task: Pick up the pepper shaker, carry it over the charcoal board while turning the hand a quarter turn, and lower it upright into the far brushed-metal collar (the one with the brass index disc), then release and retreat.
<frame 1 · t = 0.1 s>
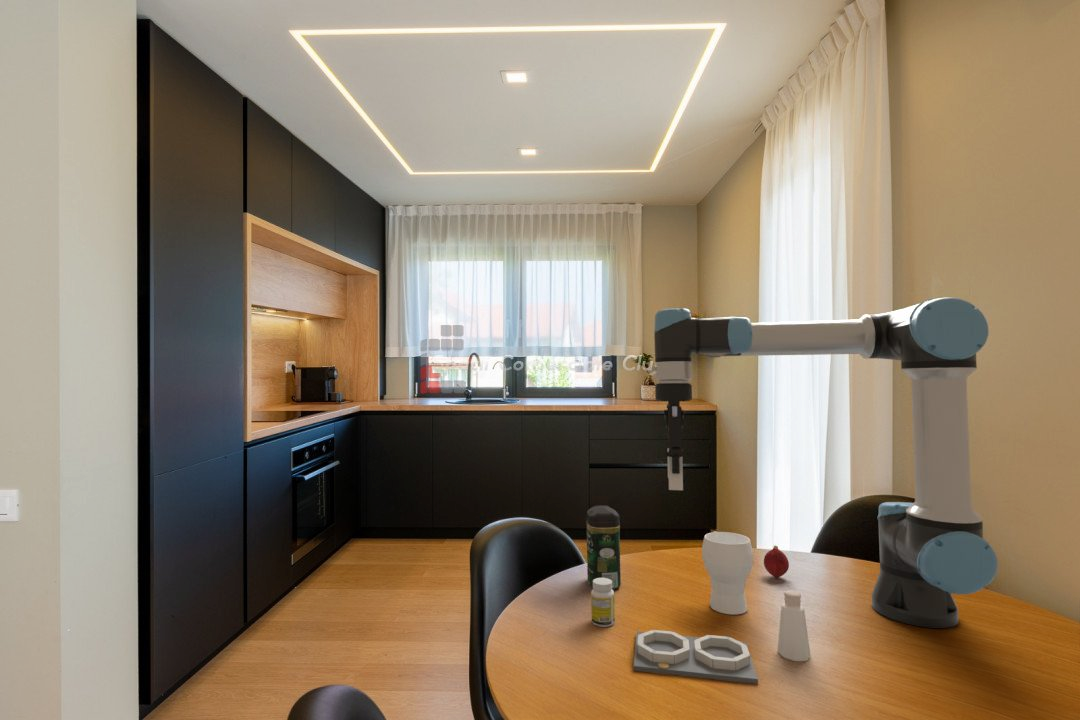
hand: (674, 483, 113), 28 cm above the table, fingers open, 13 cm apart
coffee jar: (603, 585, 131), on the table
onion: (776, 578, 135), on the table
cup: (728, 608, 118), on the table
pepper shaker: (793, 655, 97), on the table
supplement bottle: (603, 623, 111), on the table
collar board: (692, 657, 96), on the table
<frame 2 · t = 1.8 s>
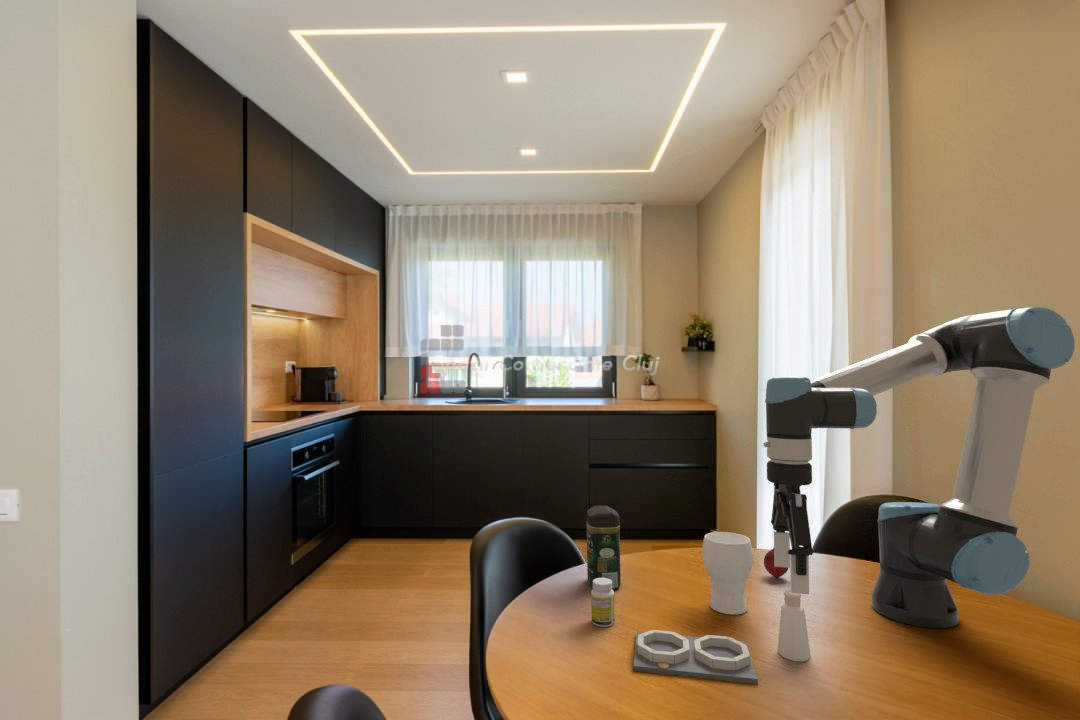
hand: (790, 579, 98), 13 cm above the table, fingers open, 13 cm apart
nothing on the table moved.
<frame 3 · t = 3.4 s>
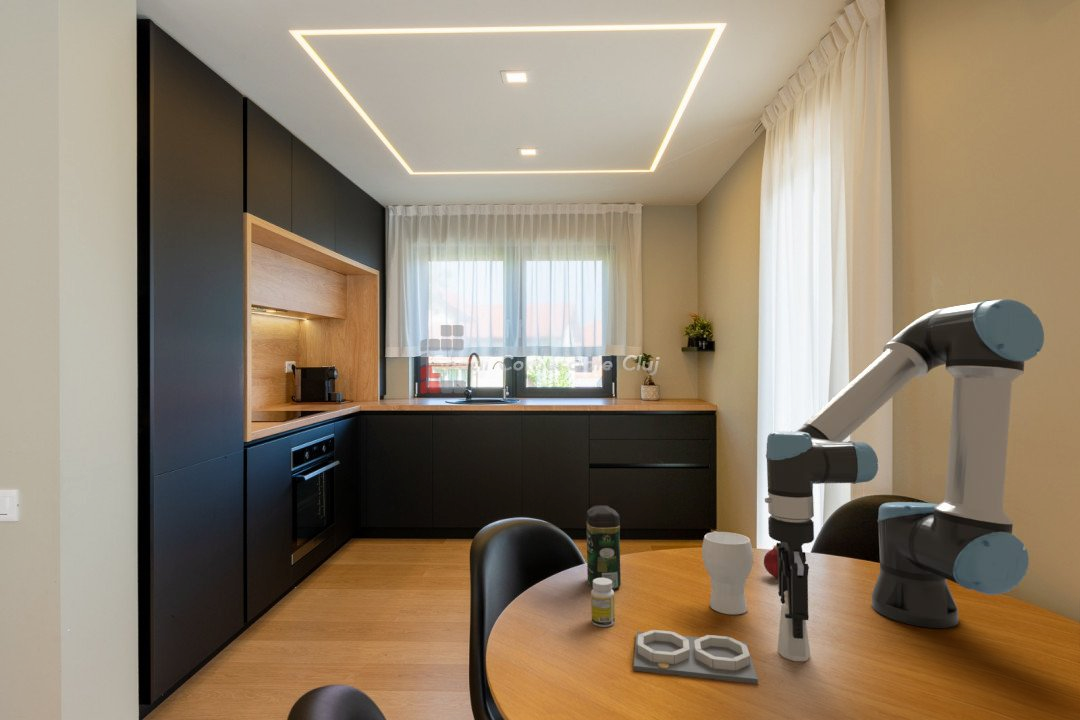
hand: (793, 648, 97), 1 cm above the table, fingers closed on pepper shaker, 4 cm apart
pepper shaker: (793, 655, 97), on the table, touching gripper
everything else where it was.
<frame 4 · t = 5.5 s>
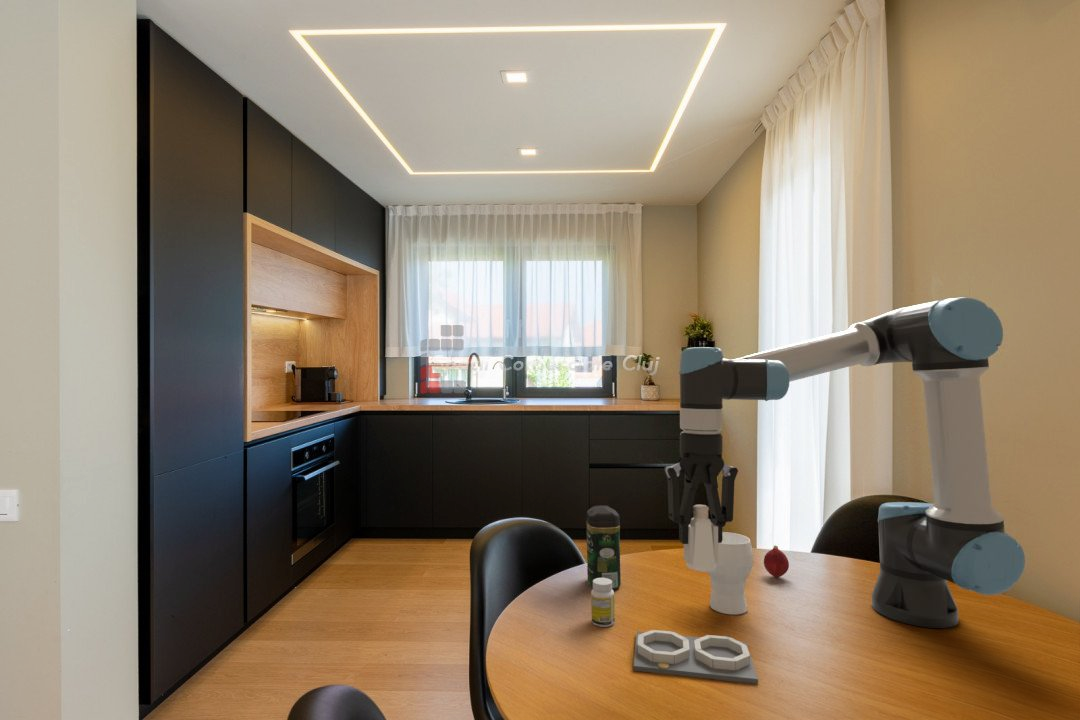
hand: (700, 560, 98), 17 cm above the table, fingers closed on pepper shaker, 4 cm apart
pepper shaker: (701, 568, 98), point 15 cm above the table, touching gripper
everything else where it was.
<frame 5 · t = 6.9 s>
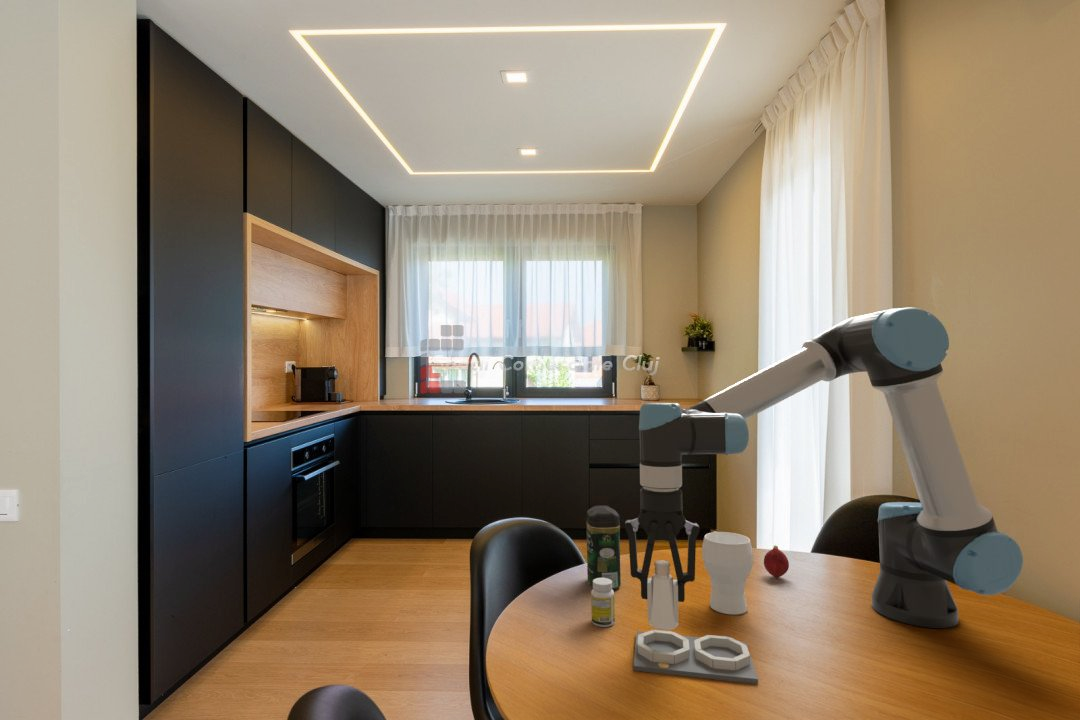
hand: (663, 617, 98), 7 cm above the table, fingers closed on pepper shaker, 4 cm apart
pepper shaker: (663, 624, 98), point 5 cm above the table, touching gripper
everything else where it was.
when the fingers open (3 cm above the table, at t = 7.7 s): pepper shaker drops 2 cm, resting on collar board.
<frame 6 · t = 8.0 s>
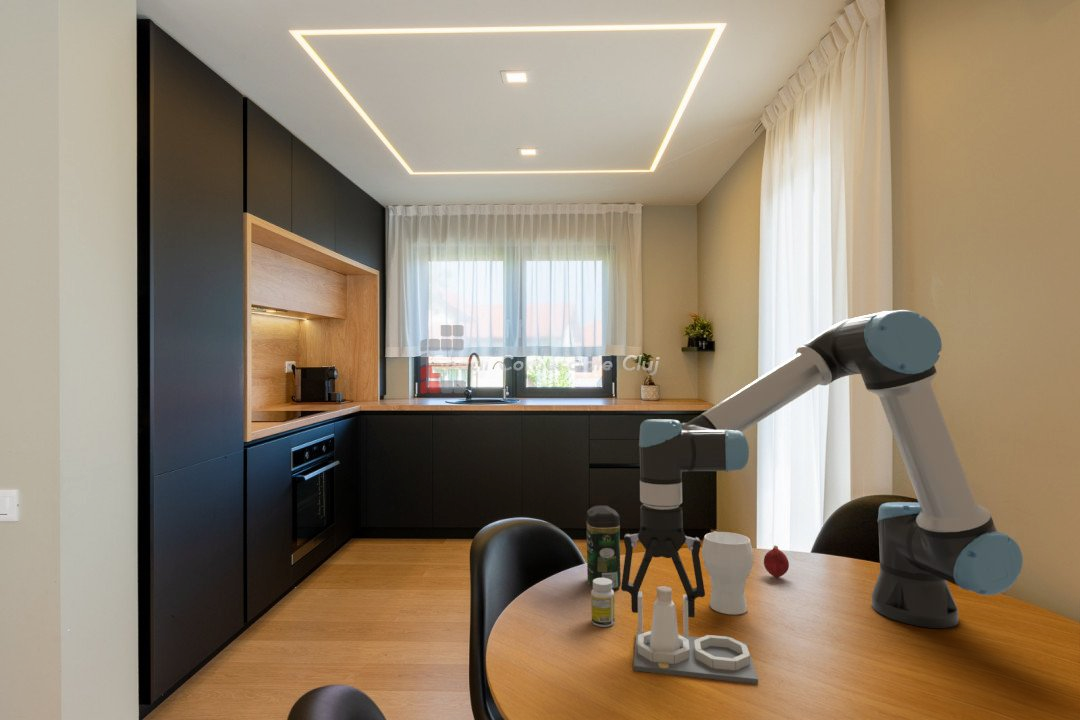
hand: (663, 632, 97), 4 cm above the table, fingers open, 7 cm apart
pepper shaker: (664, 651, 97), point 1 cm above the table, touching collar board
everything else where it was.
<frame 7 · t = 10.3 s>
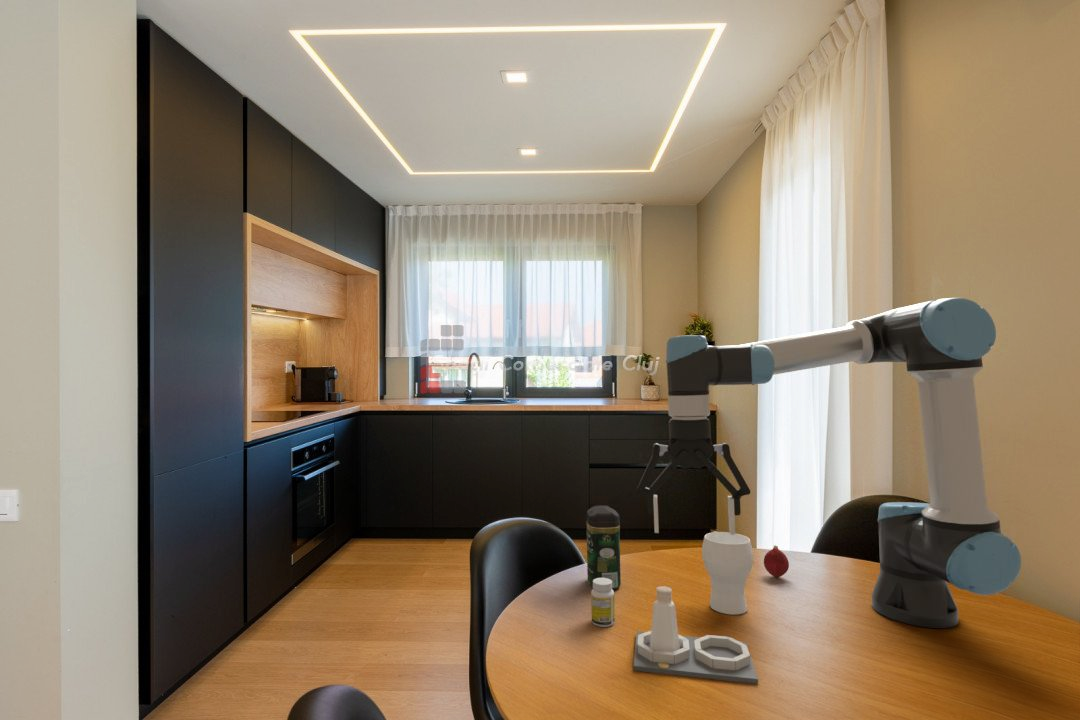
hand: (693, 532, 101), 21 cm above the table, fingers open, 13 cm apart
nothing on the table moved.
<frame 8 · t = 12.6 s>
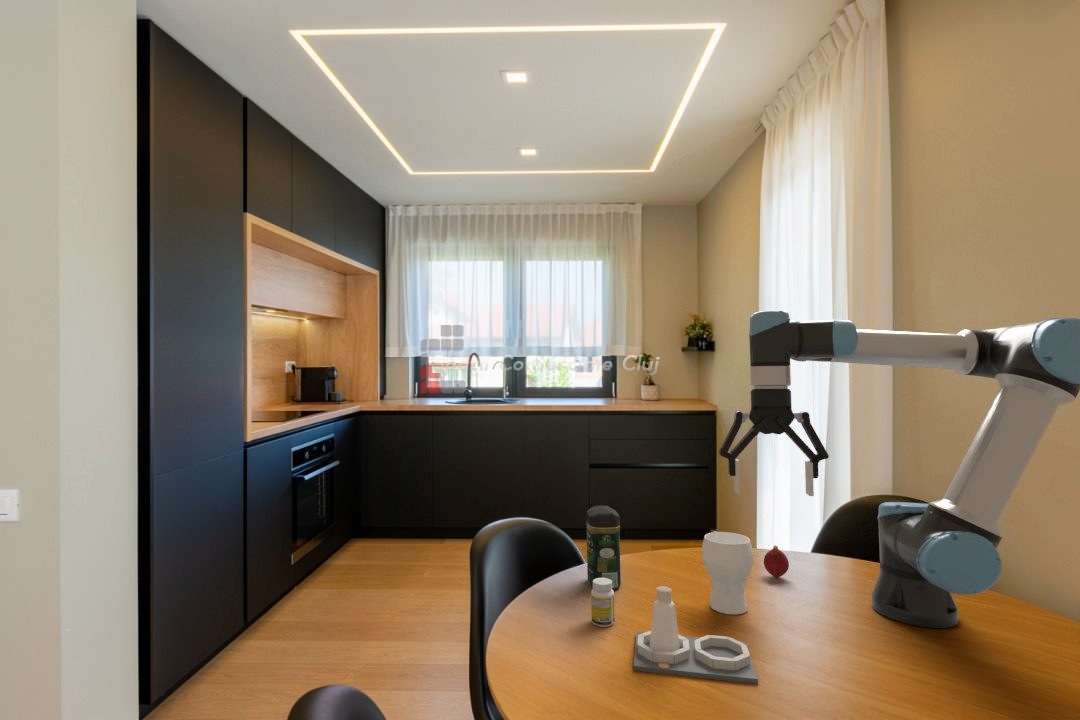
hand: (773, 493, 108), 27 cm above the table, fingers open, 13 cm apart
nothing on the table moved.
at the end: pepper shaker 0.3 cm from the target spot on the collar board, point 0.6 cm above the collar board's base; pepper shaker tilted 0°; the gripper is holding nothing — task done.
